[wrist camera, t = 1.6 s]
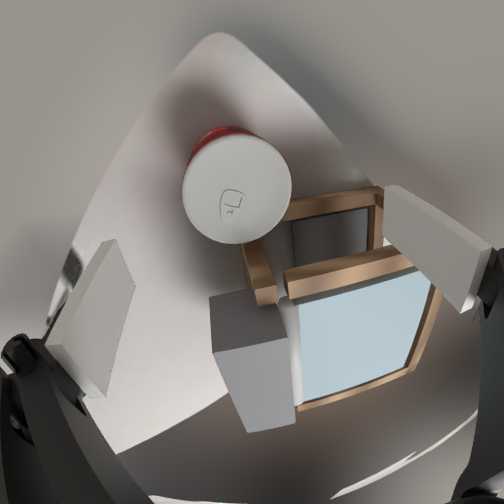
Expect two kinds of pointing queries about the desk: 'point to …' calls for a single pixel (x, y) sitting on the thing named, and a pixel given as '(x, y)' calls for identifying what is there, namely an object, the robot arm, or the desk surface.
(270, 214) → the canned food
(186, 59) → the desk surface
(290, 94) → the desk surface
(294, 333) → the trapdoor
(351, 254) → the frame
